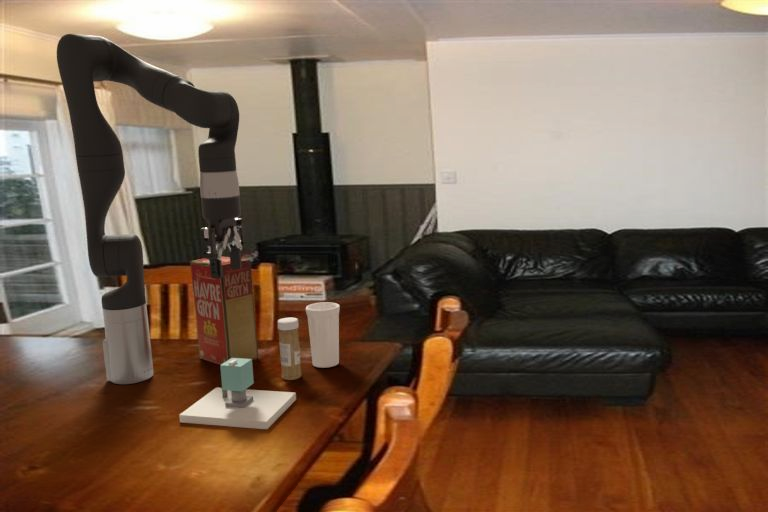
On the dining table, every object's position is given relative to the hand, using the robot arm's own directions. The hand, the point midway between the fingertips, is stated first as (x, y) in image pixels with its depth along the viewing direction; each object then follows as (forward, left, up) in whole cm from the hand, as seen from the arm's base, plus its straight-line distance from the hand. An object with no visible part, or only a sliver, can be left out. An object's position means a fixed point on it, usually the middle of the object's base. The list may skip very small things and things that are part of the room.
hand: (227, 273), depth 127 cm
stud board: (+5, -8, -26) cm, 28 cm away
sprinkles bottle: (+8, +11, -26) cm, 30 cm away
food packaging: (-13, +21, -26) cm, 36 cm away
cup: (+13, +20, -26) cm, 35 cm away
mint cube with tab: (+5, -8, -21) cm, 23 cm away
